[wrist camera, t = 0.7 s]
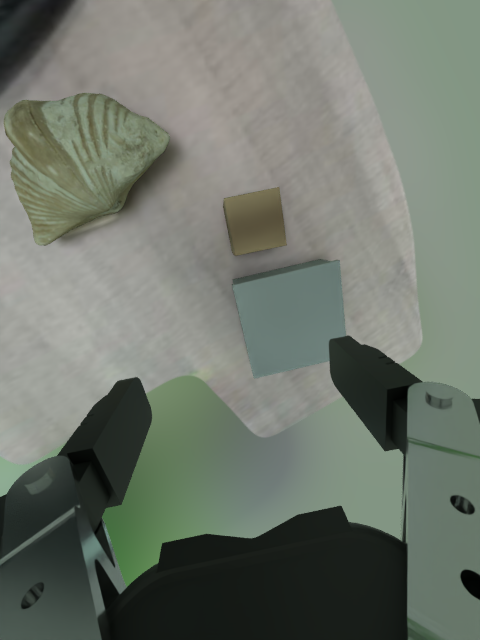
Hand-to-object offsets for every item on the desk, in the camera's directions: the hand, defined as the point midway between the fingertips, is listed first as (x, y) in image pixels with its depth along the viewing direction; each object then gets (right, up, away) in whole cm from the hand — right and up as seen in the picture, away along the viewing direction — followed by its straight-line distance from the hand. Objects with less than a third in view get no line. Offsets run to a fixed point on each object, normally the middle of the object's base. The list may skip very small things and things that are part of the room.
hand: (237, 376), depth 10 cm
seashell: (-15, +17, +15) cm, 27 cm away
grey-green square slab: (+6, +4, +22) cm, 23 cm away
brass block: (+1, +13, +18) cm, 22 cm away
